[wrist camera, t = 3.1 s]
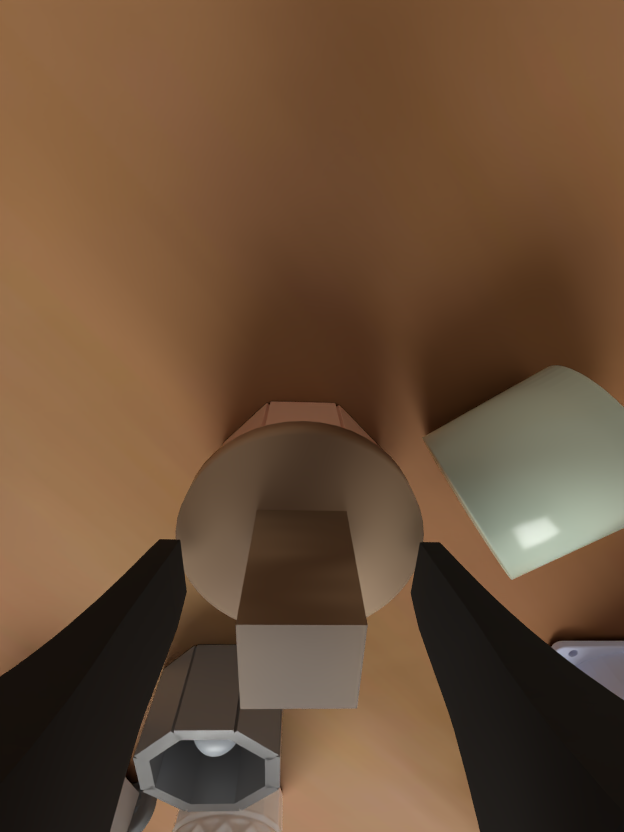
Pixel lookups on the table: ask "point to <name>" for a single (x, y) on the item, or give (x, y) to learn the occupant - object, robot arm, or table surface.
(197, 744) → the mug ball
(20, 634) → the table surface
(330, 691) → the lid
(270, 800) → the white cup
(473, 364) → the table surface
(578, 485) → the mint green cylinder
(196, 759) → the gray octagonal cup
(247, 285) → the table surface
